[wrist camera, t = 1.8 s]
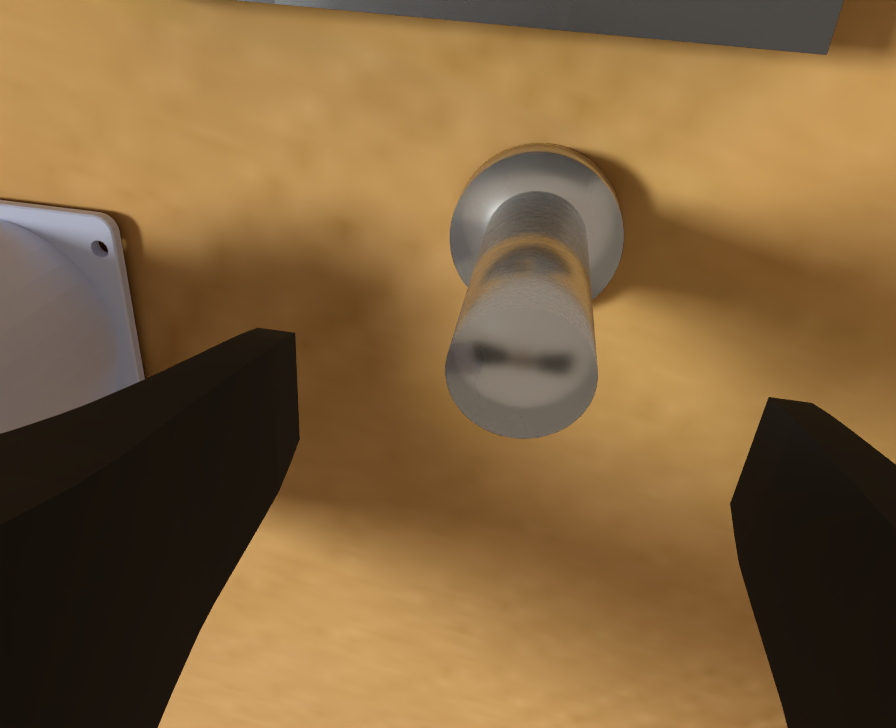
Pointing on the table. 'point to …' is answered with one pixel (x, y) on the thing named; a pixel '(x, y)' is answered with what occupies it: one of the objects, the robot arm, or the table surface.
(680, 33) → the keyhole plate
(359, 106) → the table surface
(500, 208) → the steel peg
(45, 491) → the robot arm
